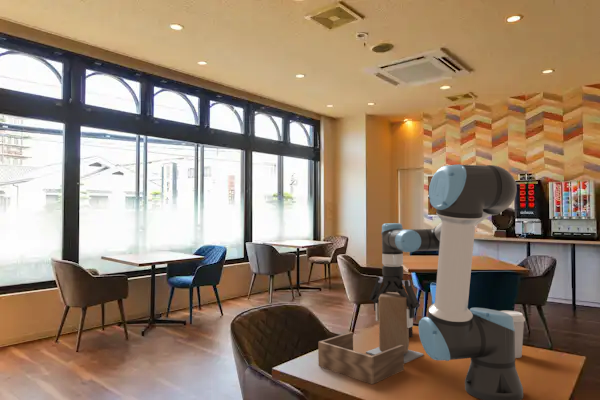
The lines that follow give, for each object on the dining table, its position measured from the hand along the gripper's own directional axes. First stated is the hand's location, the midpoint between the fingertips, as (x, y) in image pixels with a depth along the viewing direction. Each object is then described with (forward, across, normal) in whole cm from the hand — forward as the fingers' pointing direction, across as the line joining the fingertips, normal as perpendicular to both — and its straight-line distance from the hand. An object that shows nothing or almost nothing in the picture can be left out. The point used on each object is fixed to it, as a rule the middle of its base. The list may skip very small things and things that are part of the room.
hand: (393, 323), depth 156 cm
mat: (+11, 0, 0) cm, 11 cm away
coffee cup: (+11, -30, -29) cm, 43 cm away
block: (+10, 0, 0) cm, 10 cm away
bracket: (+11, 0, +20) cm, 23 cm away
